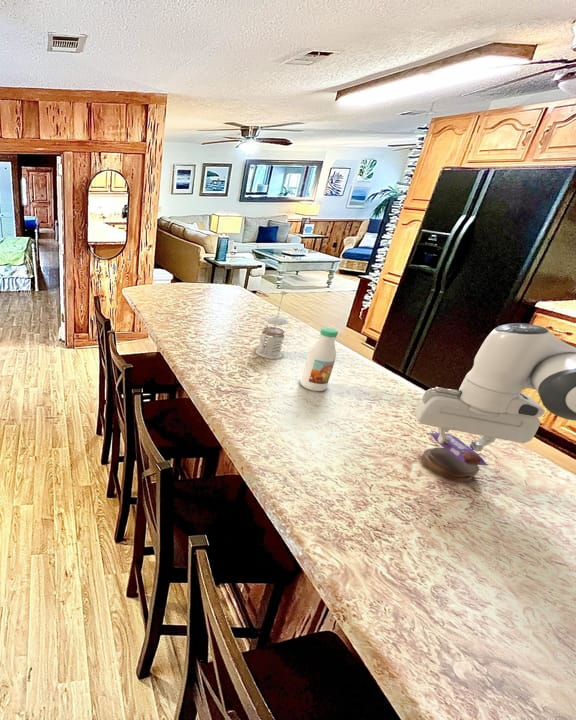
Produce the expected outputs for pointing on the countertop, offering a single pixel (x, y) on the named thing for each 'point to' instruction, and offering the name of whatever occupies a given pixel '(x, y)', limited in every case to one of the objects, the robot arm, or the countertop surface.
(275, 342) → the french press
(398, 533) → the countertop surface
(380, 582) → the countertop surface
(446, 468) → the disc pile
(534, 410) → the robot arm
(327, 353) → the milk bottle
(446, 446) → the snack package
